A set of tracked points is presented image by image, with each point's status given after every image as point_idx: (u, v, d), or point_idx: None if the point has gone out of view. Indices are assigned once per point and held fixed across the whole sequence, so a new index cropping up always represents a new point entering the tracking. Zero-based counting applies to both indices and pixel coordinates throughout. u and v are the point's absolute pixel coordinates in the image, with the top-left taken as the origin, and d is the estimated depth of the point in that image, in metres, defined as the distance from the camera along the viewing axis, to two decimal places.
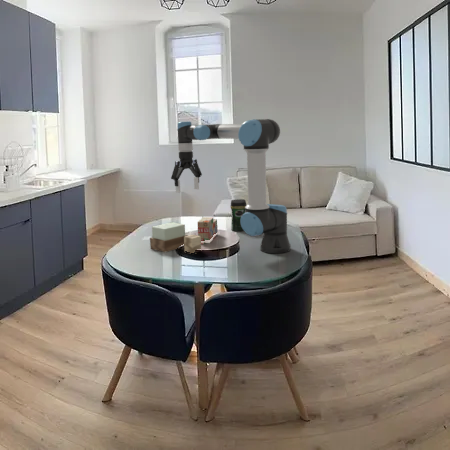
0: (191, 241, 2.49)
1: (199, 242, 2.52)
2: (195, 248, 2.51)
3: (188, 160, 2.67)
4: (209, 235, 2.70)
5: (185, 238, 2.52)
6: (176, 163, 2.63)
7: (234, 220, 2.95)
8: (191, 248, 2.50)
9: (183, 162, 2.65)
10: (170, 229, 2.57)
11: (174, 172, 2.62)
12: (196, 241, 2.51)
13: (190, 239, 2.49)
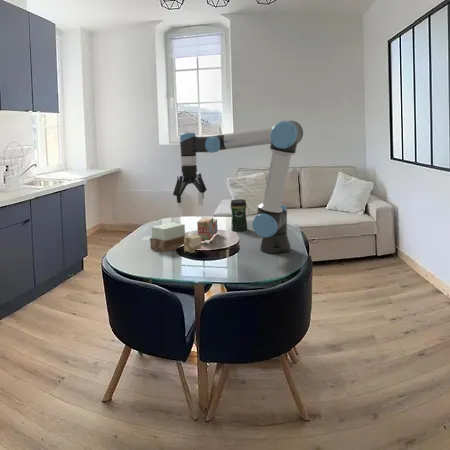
0: (191, 241, 2.49)
1: (199, 242, 2.52)
2: (195, 248, 2.51)
3: (192, 174, 2.47)
4: (209, 235, 2.70)
5: (185, 238, 2.52)
6: (178, 178, 2.42)
7: (234, 220, 2.95)
8: (191, 248, 2.50)
9: (186, 177, 2.44)
10: (170, 229, 2.57)
11: (176, 188, 2.42)
12: (196, 241, 2.51)
13: (190, 239, 2.49)
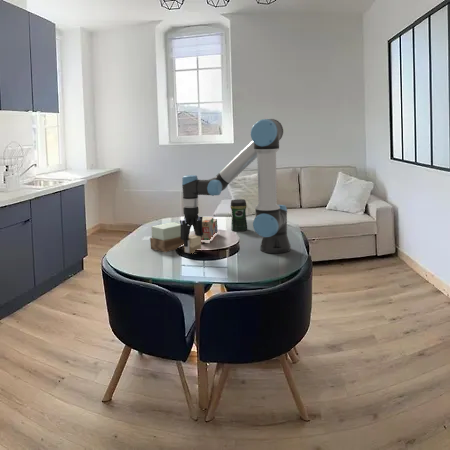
0: (191, 241, 2.49)
1: (199, 242, 2.52)
2: (195, 248, 2.51)
3: None
4: (209, 235, 2.71)
5: None
6: (181, 223, 2.46)
7: (234, 220, 2.95)
8: (191, 248, 2.50)
9: (188, 218, 2.48)
10: (169, 229, 2.57)
11: (182, 232, 2.47)
12: (196, 241, 2.51)
13: (190, 239, 2.49)
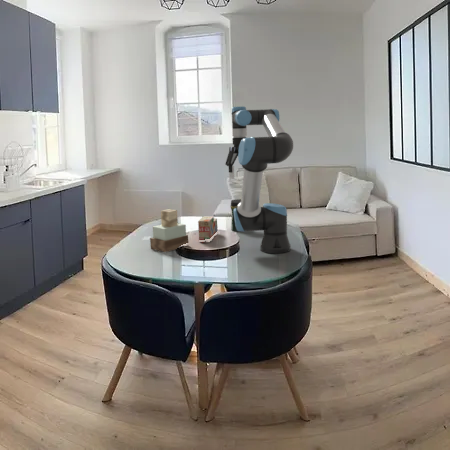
0: (168, 215, 2.58)
1: (175, 216, 2.61)
2: (172, 221, 2.59)
3: None
4: (210, 234, 2.72)
5: (162, 212, 2.60)
6: (230, 149, 2.58)
7: (234, 220, 2.95)
8: (168, 221, 2.58)
9: (237, 148, 2.60)
10: (170, 229, 2.57)
11: (229, 158, 2.58)
12: (173, 214, 2.60)
13: (167, 213, 2.58)
